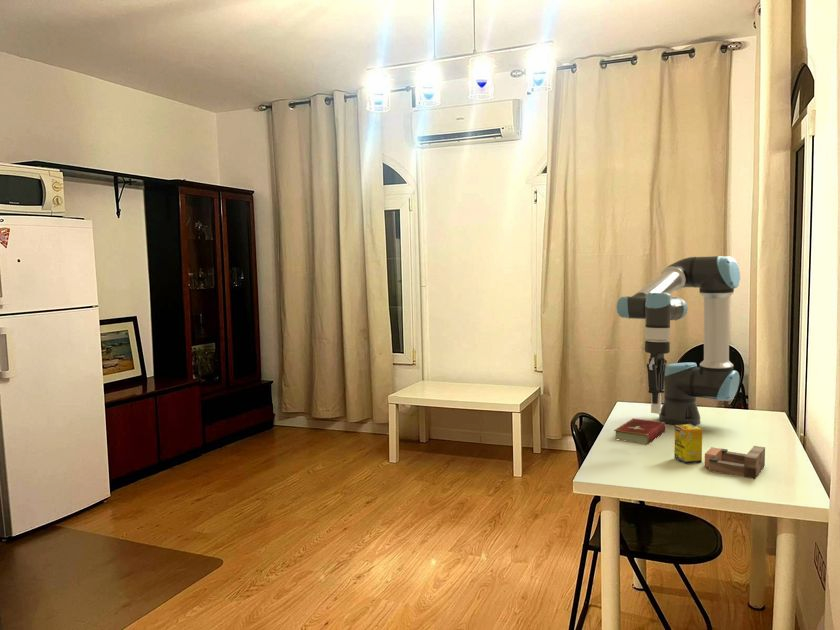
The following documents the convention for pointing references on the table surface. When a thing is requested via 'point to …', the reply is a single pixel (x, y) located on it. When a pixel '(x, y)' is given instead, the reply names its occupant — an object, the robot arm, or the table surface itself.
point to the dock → (740, 463)
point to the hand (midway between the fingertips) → (655, 412)
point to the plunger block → (713, 455)
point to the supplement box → (688, 444)
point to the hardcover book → (640, 430)
